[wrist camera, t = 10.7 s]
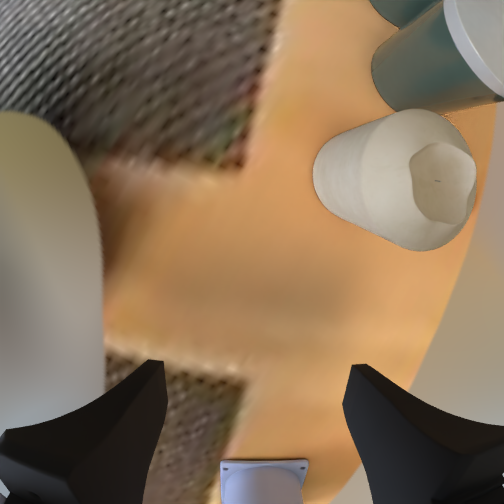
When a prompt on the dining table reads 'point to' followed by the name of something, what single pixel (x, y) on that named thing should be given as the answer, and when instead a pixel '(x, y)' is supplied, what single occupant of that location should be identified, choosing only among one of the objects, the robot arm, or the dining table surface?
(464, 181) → the candle
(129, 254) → the dining table surface
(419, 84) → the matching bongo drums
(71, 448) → the robot arm
